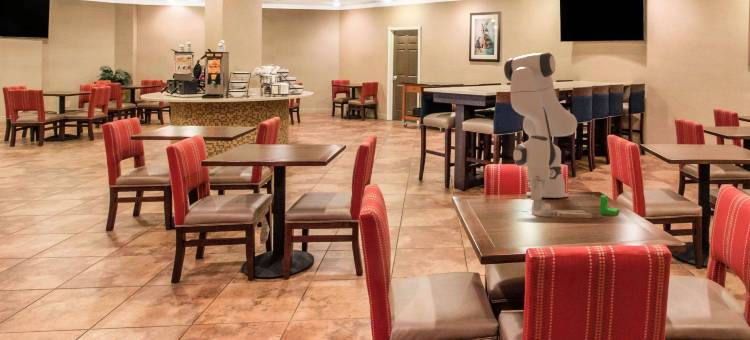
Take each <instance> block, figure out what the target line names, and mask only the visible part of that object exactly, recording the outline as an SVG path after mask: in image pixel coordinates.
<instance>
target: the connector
mask: <svg viewBox="0 0 750 340" xmlns="http://www.w3.org/2000/svg"><path fill="white" fill-rule="evenodd" d="M551 205H552V204H551V203H547V202H543V201H541V202H539V210H538V211H534V201H532V202H531V215H534V216H537V217H545V218H548V217H551V214H553V213H554V210H555V209H551Z"/></svg>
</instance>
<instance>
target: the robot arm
mask: <svg viewBox="0 0 750 340" xmlns="http://www.w3.org/2000/svg"><path fill="white" fill-rule="evenodd" d="M555 71H556V59H555V57H554V56H553V54H552V53H550V52H545V51H544V52H541V53H540V52H539V53H536V52H535V53H529V54H525V55H521V56H517V57H511V58H509V59H506V62H505V63H504V67H503V72H504V76H505V78H506V79H507V81H509V82H510V87H509V88H510V91H509V92H510V94H509V95H510V104H511V108H512V109H513V110H514V111H515V112H516V113H517V114H519V115H520V116H523V117H524V119H523V122H522V129H523V131H524V133H525V134H527V136H528V140H526V141H525V142H522V143H519V144H517V145H515V147H514V148H513V150H512V160H513V161H514V164H515V165H517V166H519V167H527V168H526V172H527V173H526V175H527V176H526V179H527V180H528V182H527V188H529V190H530V191H527V192H526V196H527V197H530V200H531V201H533V202H534V211H538V210H539V202H543V201H542V199H543V198H549V199H550V198H554V199H556V198H567V197H569V194H567V193H566V185H565V178H564V177H563V176H562V174H563V173H562V171H563V169H562V166H561V165H562V163H561V162H562V151H561V149H560V147H559V146H557V145H556V144H555V143H554V142H553V140H552V137H567V136H571V135H573V134H574V133H576V130H577V128H578V121H577V120H578V119H577V118H576V117H575V115H574V114H572V113H571V112H570V111H568V110H567V109H565V107H563V105H562V104H561V103H560V101H559V99H558V97H557V93H556V90H555V87H554V86H555V85H554V81H553V78H552V75H553V74H554V73H555Z"/></svg>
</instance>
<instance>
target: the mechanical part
mask: <svg viewBox="0 0 750 340" xmlns="http://www.w3.org/2000/svg"><path fill="white" fill-rule="evenodd" d="M608 201H609V200H608V195H603V194H602V195H600V203H599V214H602V215H603V214H604V215H609V216H616V215H617V214H618V213H619V211H620V208H615V207H608V206H609V205H608V203H609V202H608Z"/></svg>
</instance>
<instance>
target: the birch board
mask: <svg viewBox="0 0 750 340" xmlns="http://www.w3.org/2000/svg"><path fill="white" fill-rule="evenodd" d="M553 210H554V214H553V215H555V214H556V215H555V216H557V217H560V218H562V219H564V218H565V219H593V217H594V216H593V214H592V213H590V212H587V211H585V210H581V209H553Z"/></svg>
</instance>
